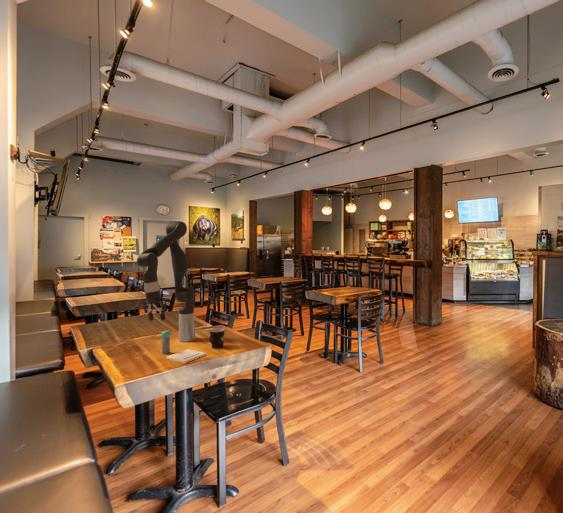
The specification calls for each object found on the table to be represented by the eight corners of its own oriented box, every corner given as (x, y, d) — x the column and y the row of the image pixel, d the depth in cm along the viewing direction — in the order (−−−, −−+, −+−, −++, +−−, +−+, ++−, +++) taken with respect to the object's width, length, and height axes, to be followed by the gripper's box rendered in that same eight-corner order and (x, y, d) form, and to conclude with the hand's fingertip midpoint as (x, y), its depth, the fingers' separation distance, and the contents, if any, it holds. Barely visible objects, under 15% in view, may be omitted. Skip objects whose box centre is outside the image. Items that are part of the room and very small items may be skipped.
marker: (166, 351, 184) (166, 330, 183) (171, 352, 181) (171, 331, 181) (160, 353, 180) (159, 332, 180) (165, 354, 178) (165, 333, 177)
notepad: (187, 351, 184) (187, 348, 184) (206, 355, 176) (206, 352, 176) (166, 359, 171) (166, 356, 171) (184, 363, 164) (184, 361, 164)
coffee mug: (219, 344, 197) (219, 327, 197) (227, 347, 191) (227, 330, 190) (202, 348, 189) (202, 331, 188) (210, 351, 183) (210, 333, 182)
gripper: (167, 288, 173) (172, 318, 174) (148, 289, 179) (153, 318, 180) (156, 291, 166) (161, 322, 167) (137, 292, 172) (142, 322, 173)
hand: (157, 320), depth 174 cm, fingers open, 8 cm apart
